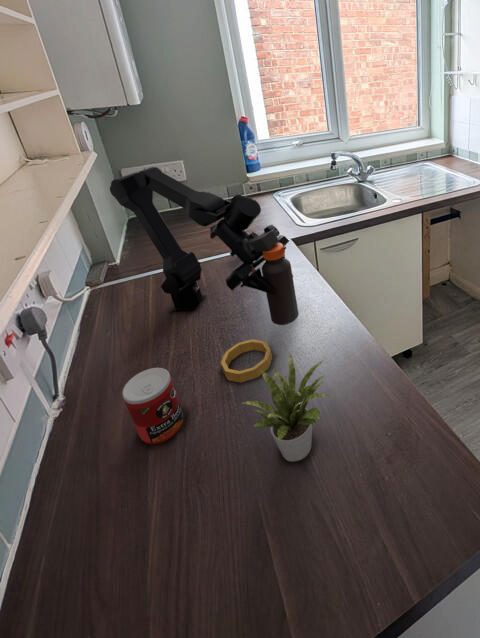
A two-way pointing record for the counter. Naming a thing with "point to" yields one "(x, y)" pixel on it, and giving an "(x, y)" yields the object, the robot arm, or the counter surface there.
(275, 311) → the vinegar
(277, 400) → the house plant
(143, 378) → the canned food
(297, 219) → the counter surface
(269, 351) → the yellow flat ring
